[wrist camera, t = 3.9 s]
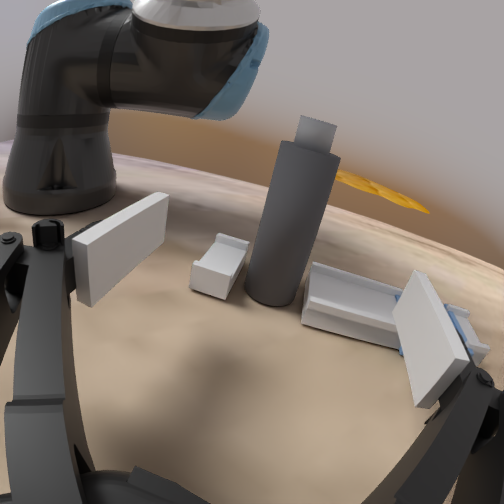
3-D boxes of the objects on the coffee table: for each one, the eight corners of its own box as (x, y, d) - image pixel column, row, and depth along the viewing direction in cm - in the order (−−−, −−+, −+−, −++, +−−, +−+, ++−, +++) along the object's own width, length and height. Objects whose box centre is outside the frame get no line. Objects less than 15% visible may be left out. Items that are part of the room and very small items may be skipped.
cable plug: (238, 295, 22) (285, 110, 16) (250, 270, 26) (291, 112, 20) (291, 312, 22) (352, 130, 16) (296, 284, 25) (346, 128, 20)
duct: (185, 292, 21) (188, 267, 20) (216, 250, 27) (220, 230, 26) (479, 371, 19) (492, 353, 18) (456, 322, 25) (466, 306, 24)
